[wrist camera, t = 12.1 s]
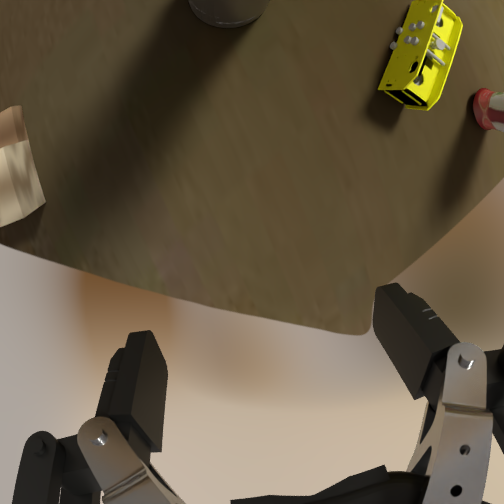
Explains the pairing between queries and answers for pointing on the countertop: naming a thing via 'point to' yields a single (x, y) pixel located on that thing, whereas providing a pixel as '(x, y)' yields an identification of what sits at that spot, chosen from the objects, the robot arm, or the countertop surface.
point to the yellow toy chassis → (422, 54)
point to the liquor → (489, 109)
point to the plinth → (17, 169)
